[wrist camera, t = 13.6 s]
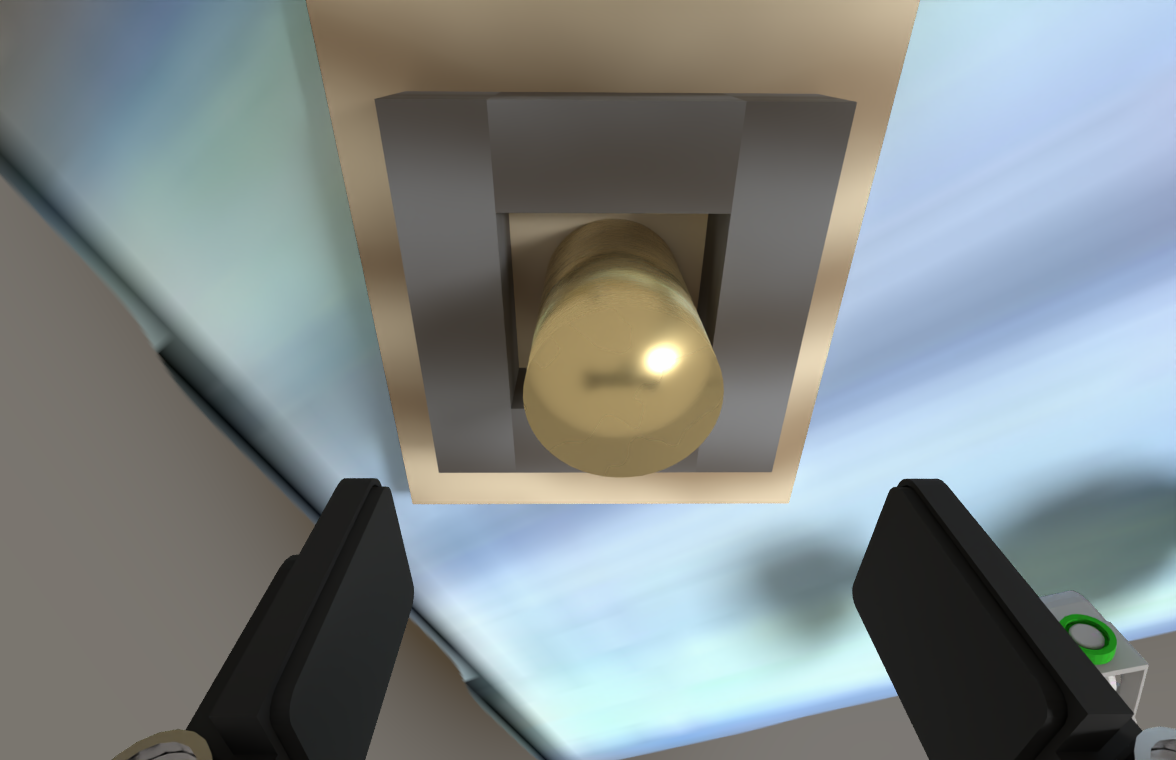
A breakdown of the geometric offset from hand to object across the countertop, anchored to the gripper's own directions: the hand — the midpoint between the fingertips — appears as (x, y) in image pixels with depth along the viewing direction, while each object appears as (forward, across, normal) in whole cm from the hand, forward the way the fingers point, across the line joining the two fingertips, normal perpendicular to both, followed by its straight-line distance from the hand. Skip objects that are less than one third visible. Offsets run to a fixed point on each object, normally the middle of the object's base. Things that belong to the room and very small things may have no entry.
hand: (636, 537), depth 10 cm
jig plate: (+14, 0, 0) cm, 14 cm away
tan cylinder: (+12, 0, 0) cm, 12 cm away
